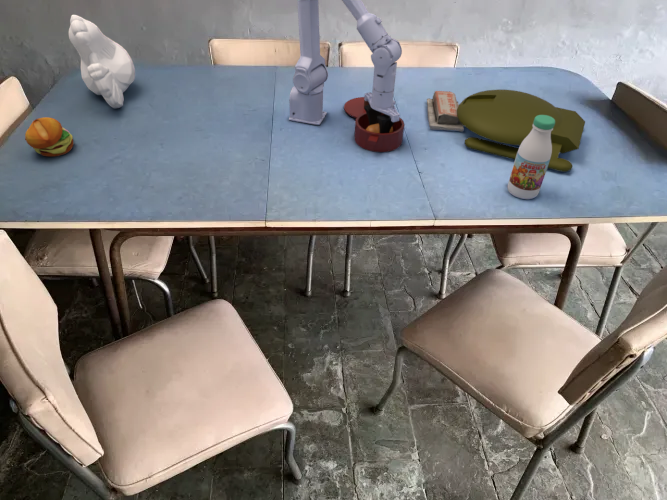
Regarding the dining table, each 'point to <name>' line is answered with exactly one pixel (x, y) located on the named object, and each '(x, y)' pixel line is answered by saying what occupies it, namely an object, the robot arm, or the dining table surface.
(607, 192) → the dining table surface
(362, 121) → the pot
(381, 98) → the robot arm
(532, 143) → the milk bottle
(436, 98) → the packaged product
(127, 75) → the white rounded figure
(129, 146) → the dining table surface
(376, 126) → the bread roll
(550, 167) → the spaceship
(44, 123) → the cheeseburger
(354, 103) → the pot lid
